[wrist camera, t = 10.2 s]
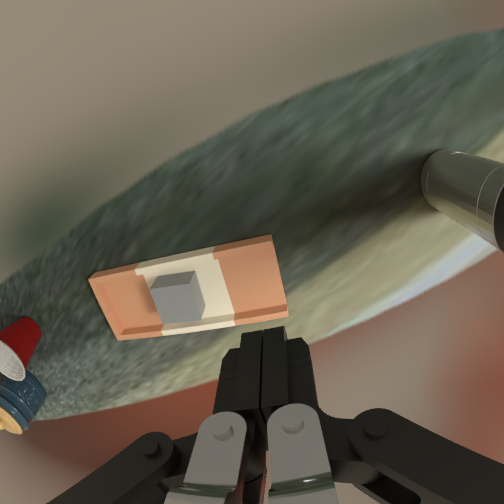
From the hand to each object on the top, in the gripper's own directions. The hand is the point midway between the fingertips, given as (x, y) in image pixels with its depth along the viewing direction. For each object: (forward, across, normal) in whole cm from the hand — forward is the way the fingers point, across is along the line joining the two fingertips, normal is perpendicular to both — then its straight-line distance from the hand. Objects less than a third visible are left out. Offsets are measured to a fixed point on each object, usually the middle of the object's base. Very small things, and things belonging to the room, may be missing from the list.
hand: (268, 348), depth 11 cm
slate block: (+31, +16, +12) cm, 37 cm away
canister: (+32, +71, +33) cm, 85 cm away
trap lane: (+32, +15, +13) cm, 38 cm away
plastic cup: (+32, +54, +16) cm, 65 cm away
